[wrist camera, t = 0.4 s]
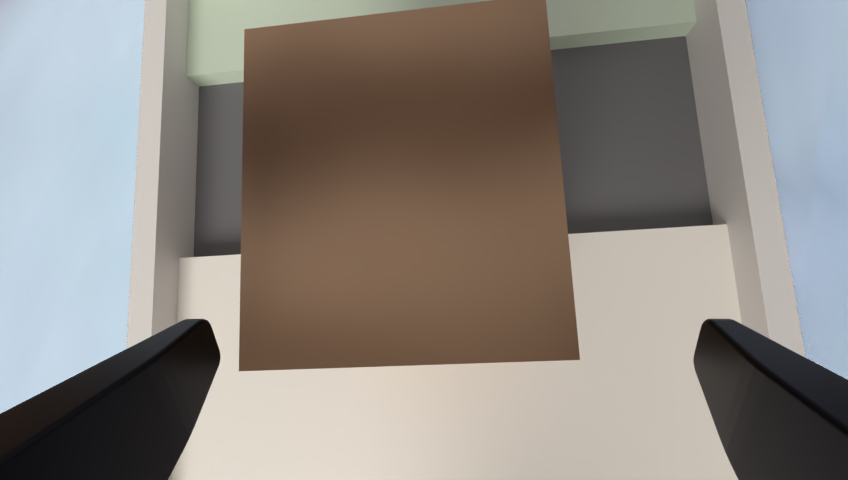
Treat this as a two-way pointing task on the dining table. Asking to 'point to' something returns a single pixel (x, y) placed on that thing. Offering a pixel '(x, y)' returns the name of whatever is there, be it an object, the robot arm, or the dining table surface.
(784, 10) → the dining table surface
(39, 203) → the dining table surface
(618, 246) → the white recessed tray
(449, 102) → the walnut block
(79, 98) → the dining table surface
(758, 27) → the dining table surface
